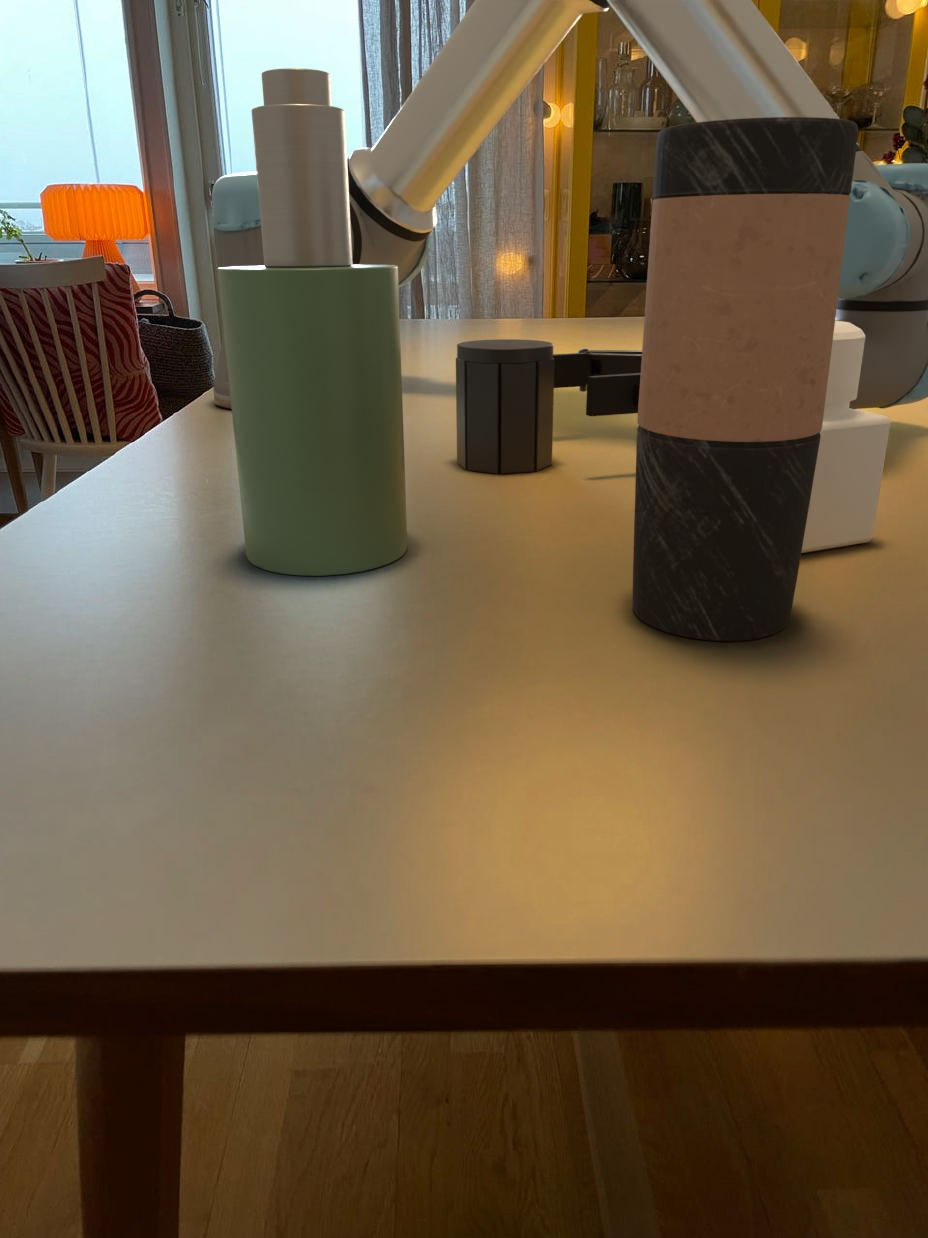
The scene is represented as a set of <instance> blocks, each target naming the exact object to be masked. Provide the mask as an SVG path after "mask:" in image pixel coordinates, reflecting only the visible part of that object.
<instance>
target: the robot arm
mask: <svg viewBox="0 0 928 1238" xmlns="http://www.w3.org/2000/svg"><path fill="white" fill-rule="evenodd" d="M610 8H612V10H613V11H614V12H615V14H616V15H617V16H618V18H619V19H620V20H621V22H622V23H623V25H624V26H625V27H626V29H627V30H628V31H629V33H630V35H632V37H633V38H634V40H635V42H637V44H638V45H639V46H640V47H641V49H642V50H643V52H644V53H645V54H646V56H647V57H648V58H649V60H650V61H651V63H652V64H653V65H654V66H655V68H656V69H657V71H658V72H659V73H660V74H661V76H662V77H663V79H664V80H665V82H666V83H667V84H668V85H669V87H670V89H671V90H672V91H673V92H674V93H675V95H676V96H677V98H678V99H679V101H680V102H681V104H683V106H684V107H685V109H686V110H687V111H688V113H689V114H690V115H691V117H692V118H693V120H694V122H695V123H697V122H705V121H715V120H728V119H743V118H765V117H819V118H835V119H840V117H839V116H838V114H837V113H836V112H835V111H834V109H833V107H832V106H831V104H830V103H829V102H828V101H827V100H826V98H825V97H824V96H823V94H822V93H821V91H819V89H818V87H817V86H816V85H815V84H814V82H813V80H811V78H810V77H809V76H808V74H807V73H806V72H805V70H804V69H803V67H802V66H801V65H800V63H799V62H798V61H797V59H796V58H795V57H794V56H793V54H792V53H791V51H790V50H789V49H788V48H787V46H786V45H785V43H784V42H783V40H781V38H780V36H779V35H778V34H777V33H776V31H775V30H774V29H773V27H772V26H771V25H770V23H769V22H768V21H767V20H766V18H765V16H764V14H762V13H761V11H760V10H759V8H758V7H757V6H756V4H755V3H754V2H753V0H474V1H473V3H472V4H471V5H470V7H469V8H468V10H467V12H466V13H465V14H464V15H463V17H462V18H461V20H460V21H459V23H458V24H457V26H455V29H453V30H454V31H453V32H451V35H450V36H449V38H448V39H447V41H446V42H445V43H444V45H443V46H442V48H441V49H440V51H439V52H438V53H437V55H436V56H435V58H434V59H433V61H432V62H431V63H430V64H429V67H428V68H427V69H426V71H425V72H424V74H423V75H422V77H421V78H420V80H419V81H418V82H417V83H416V86H415V87H414V88H413V89H412V90H411V93H409V96H408V97H407V98H406V99H405V101H404V103H403V104H402V105H401V107H400V108H399V110H398V111H397V113H396V114H395V116H394V117H393V118H392V119H391V121H390V123H389V124H388V126H387V127H386V129H385V130H384V132H383V133H382V135H381V136H380V137H379V139H378V140H377V142H376V143H375V145H374V146H373V147H359V148H356V149H354V150H353V151H352V152H351V154H350V155H349V156H348V157H347V165H348V185H349V205H350V225H351V244H352V265H396V266H398V284H399V288H402V287H403V286H406V285H407V284H409V283H410V282H412V281H413V279H415V278H416V277H417V275H418V274H419V273H420V272H421V270H422V269H423V267H424V265H425V263H426V262H427V259H428V257H429V254H430V251H431V250H430V249H431V246H430V245H429V241H430V239H431V238H432V232H433V230H434V229H435V227H436V225H437V224H438V213H437V212H438V211H437V205H436V203H437V202H438V201H439V199H441V197H442V196H443V195H444V193H445V192H446V190H448V188H449V186H451V184H452V183H453V182H454V181H455V179H456V178H457V176H458V175H459V174H460V173H461V172H462V170H463V169H464V168H465V166H466V165H467V163H469V161H470V160H471V158H472V157H473V156H474V154H475V153H476V152H477V150H478V149H480V147H481V146H482V144H483V143H484V142H485V140H487V138H488V137H489V135H490V134H491V133H492V132H493V130H494V129H495V128H496V126H498V123H499V122H500V121H501V120H502V119H503V117H504V116H505V115H506V113H507V112H508V111H509V109H511V107H512V106H513V105H514V103H515V102H516V101H517V99H518V98H519V97H520V95H521V94H522V93H523V92H524V90H525V89H526V88H527V87H528V85H529V84H530V82H531V81H532V80H533V79H534V77H535V76H536V75H537V74H538V72H539V71H540V70H541V68H542V67H543V66H544V64H545V63H546V62H547V61H548V59H549V58H550V57H551V56H552V54H553V53H554V52H555V51H556V50H557V48H558V47H559V45H560V44H561V42H563V40H564V39H565V37H566V36H567V35H568V34H569V32H570V31H571V30H572V29H573V27H574V26H575V25H576V23H577V22H578V21H579V20H580V18H581V17H583V16H584V15H585V14H590V13H601V12H602V13H603V12H607V11H608V10H609V9H610ZM849 196H850V203H849V211H848V219H847V228H846V236H845V244H844V252H843V260H842V268H841V277H840V285H839V293H838V301H837V309H836V317H835V320H837V321H845V322H849V323H851V324H853V325H855V326H857V327H858V328H860V329H862V331H863V333H864V334H865V343H864V350H863V357H862V364H861V371H860V378H859V385H858V392H857V398H856V399H855V400H853V401H850V404H849V408H851V409H856V410H862V409H863V410H864V409H883V410H884V409H889V408H892V407H895V406H896V407H897V406H901V405H903V406H904V405H909V404H914V403H917V402H920V401H923V400H926V399H927V398H928V163H925V162H923V163H922V162H921V163H920V162H919V163H917V162H916V163H891V164H890V163H889V164H876V165H875V164H874V162H873V161H872V159H871V158H870V157H869V156H868V155H867V154H866V152H865V151H864V150H863V149H862V148H861V146H860V144H859V143H858V142H857V146H856V154H855V163H854V171H853V179H852V187H851V193H850V194H849ZM211 200H212V201H211V202H212V217H211V225H212V228H213V235H214V243H215V244H214V245H215V253H216V262H217V269H218V268H222V267H239V266H265V265H264V254H263V242H262V231H261V219H260V207H259V195H258V183H257V171H256V170H255V171H246V172H239V173H238V172H237V173H230V174H226V175H222V176H220V177H219V178H218V179H217V180H215V183H214V185H213V186H212V191H211ZM222 335H223V336H222V340H221V345H220V350H219V353H218V354H219V355H218V360H217V364H216V369H215V374H214V379H213V389H212V390H213V402H214V404H215V405H217V406H219V407H221V408H225V409H231V410H232V408H231V399H230V389H229V379H228V369H227V359H226V349H225V339H224V334H222ZM553 358H554V359H555V360H554V389H561V388H564V389H565V388H578V387H579V392H586V404H585V405H586V406H585V415H586V416H588V417H602V416H617V415H619V416H620V415H630V414H631V415H632V414H638V404H639V390H640V375H641V361H642V349H639V350H637V349H634V350H631V349H588V348H582V349H579V350H578V352H571V353H555V354H554V353H553Z"/></svg>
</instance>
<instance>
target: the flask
mask: <svg viewBox="0 0 928 1238" xmlns="http://www.w3.org/2000/svg"><path fill="white" fill-rule="evenodd" d="M331 83H332V82H331V74H330V73H329V72H326V71H324V70H319V69H313V68H300V67H297V68H296V67H295V68H294V67H289V68H288V67H287V68H286V67H285V68H274V69H268V70H264V71H262V72H261V85H262V86H261V87H262V98H263V100H262V101H263V105H259V106H256V107H253V108H252V109H251V120H252V121H251V122H252V123H251V124H252V135H253V145H254V158H255V171H257V183H258V195H259V207H260V219H261V231H262V242H263V254H264V265H265V266H239V267H222V268H218V267H217V277H218V278H217V279H218V290H219V299H220V308H221V319H222V328H223V335H224V339H225V349H226V359H227V369H228V379H229V389H230V399H231V408H232V409H231V408H230V409H231V418H232V427H233V428H232V429H233V437H234V447H235V448H234V449H235V456H236V457H235V459H236V466H237V476H238V485H239V496H240V505H241V515H242V527H243V535H244V544H245V545H244V546H245V554H246V558H247V560H248V562H250V563H251V565H253V566H254V567H257V568H259V569H261V570H264V571H268V572H273V573H277V574H282V575H291V576H304V577H324V576H325V577H326V576H339V575H347V574H354V573H360V572H361V573H362V572H365V571H369V570H374V569H377V568H380V567H383V566H386V565H389V564H391V563H393V562H396V561H397V560H399V559H400V558H401V557H403V556H404V555H405V554H406V552H407V550H408V528H407V527H408V526H407V525H408V524H407V523H408V521H407V497H406V465H405V440H404V439H405V437H404V436H405V435H404V433H405V432H404V409H403V408H404V405H403V378H402V377H403V376H402V375H403V374H402V349H401V348H402V347H401V316H400V289H399V284H398V266H396V265H352V244H351V225H350V205H349V185H348V165H347V159H348V149H347V148H348V147H347V146H348V145H347V127H346V111H345V110H344V109H343V108H341V107H338V106H333V103H332V101H333V100H332V99H333V98H332V84H331Z"/></svg>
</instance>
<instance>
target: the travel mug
mask: <svg viewBox="0 0 928 1238" xmlns="http://www.w3.org/2000/svg"><path fill="white" fill-rule="evenodd" d="M858 134H859V127H858V124H857V123H856V122H855V121H853V120H849V119H843V118H839V119H835V118H819V117H765V118H743V119H728V120H715V121H705V122H690V123H683V124H678V125H677V124H676V125H672V126H669V127H666V128H662V129H661V130H660V131H658V134H657V137H656V146H655V149H656V150H655V158H654V159H655V161H654V172H653V173H654V176H653V189H652V190H653V191H652V198H653V200H652V203H651V204H652V206H651V218H650V219H651V220H650V233H649V246H648V247H649V248H648V259H647V260H648V262H647V266H648V267H647V276H646V277H647V278H646V289H645V306H644V319H643V335H642V346H641V347H642V348H641V350H642V361H641V375H640V390H639V404H638V413H637V420H636V421H637V425H638V426H637V427H636V449H635V451H636V452H635V482H634V483H635V487H634V488H635V489H634V521H633V523H634V525H633V555H632V556H633V557H632V559H633V560H632V608H633V611H634V613H635V615H636V616H637V618H638V619H640V620H641V621H642V622H643V623H645V624H647V625H649V626H651V627H653V628H654V629H657V630H660V631H662V632H665V633H669V634H672V635H675V636H679V637H685V638H690V639H697V640H704V641H715V642H737V641H738V642H739V641H749V640H757V639H762V638H767V637H769V636H772V635H775V634H777V633H779V632H781V631H783V629H785V628H786V627H787V625H788V624H789V621H790V618H791V613H792V609H793V605H794V604H793V603H794V599H795V593H796V588H797V582H798V575H799V570H800V562H801V558H802V557H801V556H802V553H801V552H802V546H803V540H804V534H805V528H806V522H807V516H808V509H809V503H810V497H811V491H812V485H813V479H814V473H815V467H816V461H817V455H818V449H819V443H820V437H821V435H820V431H821V429H822V423H823V415H824V407H825V399H826V391H827V383H828V375H829V366H830V358H831V350H832V342H833V334H834V326H835V317H836V309H837V301H838V293H839V285H840V277H841V268H842V260H843V252H844V244H845V236H846V228H847V219H848V211H849V203H850V196H849V194H850V193H851V187H852V179H853V171H854V163H855V154H856V146H857V143H858V137H859V136H858Z"/></svg>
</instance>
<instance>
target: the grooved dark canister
mask: <svg viewBox="0 0 928 1238" xmlns="http://www.w3.org/2000/svg"><path fill="white" fill-rule="evenodd" d="M553 354H554V343H553V342H550V341H545V340H537V339H536V340H535V339H513V338H511V339H509V338H507V339H506V338H505V339H503V338H502V339H500V338H499V339H480V340H479V339H478V340H469V341H462V342H459V343H457V345H456V357H455V405H456V406H455V409H456V414H455V415H456V417H455V418H456V463H457V464H458V465H459V466H461V468H463V469H464V470H467V471H472V472H479V473H488V474H496V475H497V474H501V475H505V474H507V475H508V474H520V473H533V472H539V471H540V470H543V469H545V468H547V467H549V466H552V464H553V434H554V433H553V431H554V397H555V396H554V395H555V394H554V391H555V388H554V360H555V359H554V358H553Z"/></svg>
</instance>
